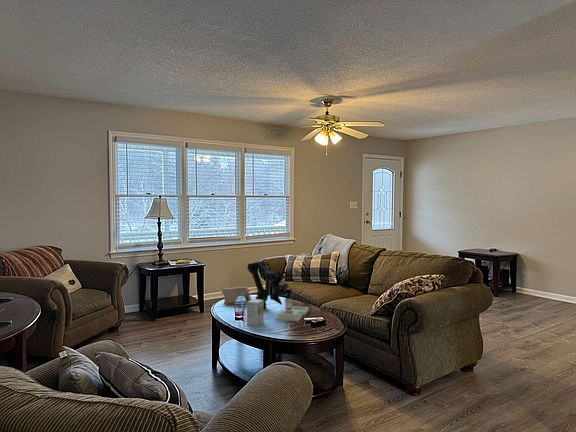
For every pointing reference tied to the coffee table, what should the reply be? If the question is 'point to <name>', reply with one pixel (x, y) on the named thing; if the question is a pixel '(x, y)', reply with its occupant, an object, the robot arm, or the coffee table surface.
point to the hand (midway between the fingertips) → (286, 303)
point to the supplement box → (255, 312)
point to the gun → (235, 295)
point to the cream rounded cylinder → (288, 305)
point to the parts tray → (301, 310)
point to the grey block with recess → (288, 315)
